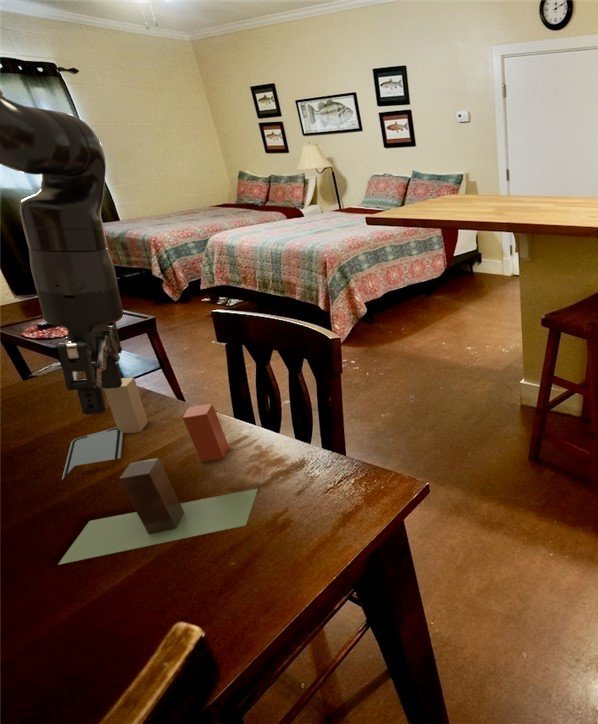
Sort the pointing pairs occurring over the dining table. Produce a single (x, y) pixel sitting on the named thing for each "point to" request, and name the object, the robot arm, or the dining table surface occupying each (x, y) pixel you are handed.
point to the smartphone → (94, 448)
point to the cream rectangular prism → (127, 406)
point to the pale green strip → (132, 533)
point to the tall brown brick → (152, 495)
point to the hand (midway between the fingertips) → (104, 399)
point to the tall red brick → (206, 432)
